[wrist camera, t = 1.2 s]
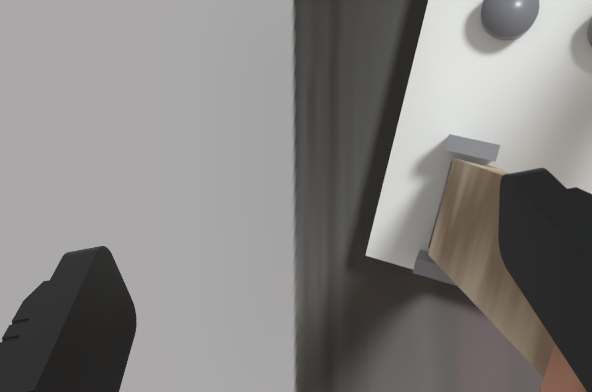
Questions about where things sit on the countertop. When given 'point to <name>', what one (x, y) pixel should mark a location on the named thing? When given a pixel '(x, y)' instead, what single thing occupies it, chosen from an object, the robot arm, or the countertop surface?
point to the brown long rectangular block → (491, 268)
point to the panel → (486, 110)
